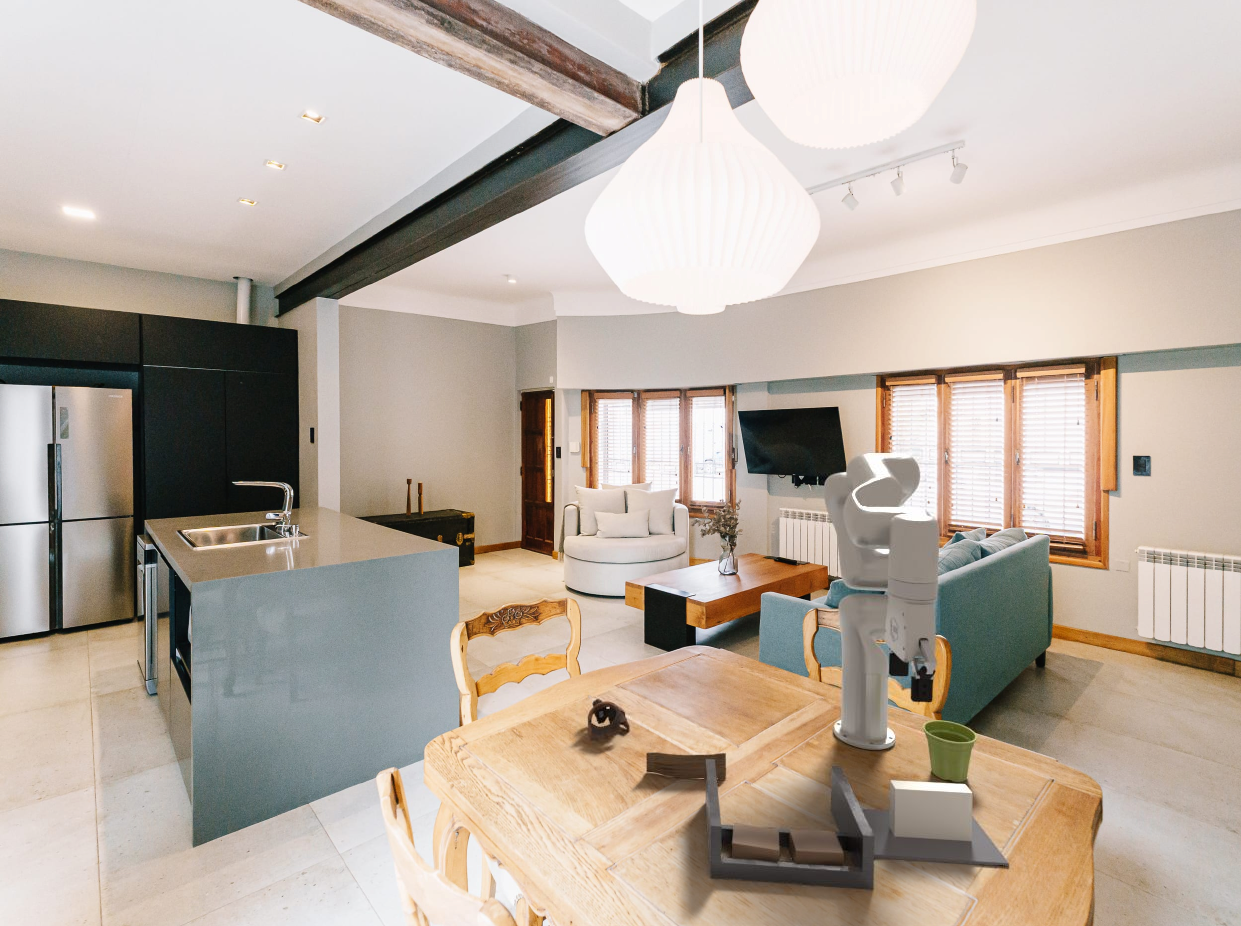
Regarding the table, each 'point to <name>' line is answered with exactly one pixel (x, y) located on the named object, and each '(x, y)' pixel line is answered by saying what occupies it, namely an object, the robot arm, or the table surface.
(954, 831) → the white rectangular brick
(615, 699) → the table surface
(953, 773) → the plant pot
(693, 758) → the wood plank
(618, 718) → the pottery mug
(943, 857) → the mat
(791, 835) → the offcut
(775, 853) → the offcut
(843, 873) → the rack
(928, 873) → the table surface
